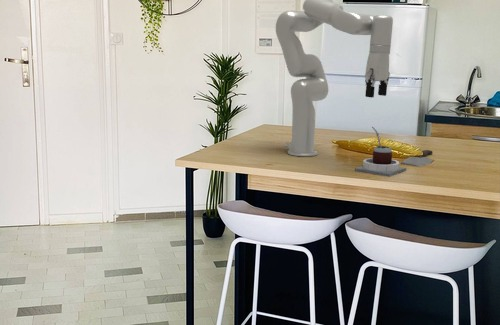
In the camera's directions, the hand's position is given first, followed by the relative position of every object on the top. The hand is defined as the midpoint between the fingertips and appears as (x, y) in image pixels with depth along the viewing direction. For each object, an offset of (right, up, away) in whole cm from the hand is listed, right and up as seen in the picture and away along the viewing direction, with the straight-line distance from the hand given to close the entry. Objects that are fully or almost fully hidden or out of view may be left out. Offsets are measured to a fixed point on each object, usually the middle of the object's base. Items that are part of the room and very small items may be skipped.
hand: (375, 96), depth 225 cm
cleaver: (+23, -24, +23) cm, 41 cm away
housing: (+2, -28, 0) cm, 28 cm away
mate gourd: (+2, -27, 0) cm, 27 cm away
